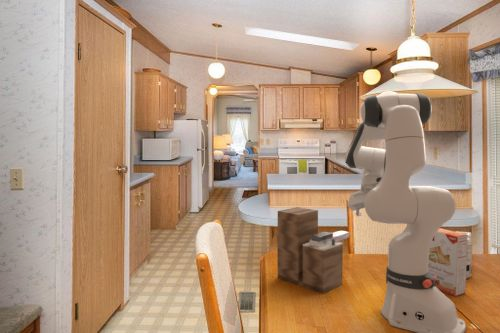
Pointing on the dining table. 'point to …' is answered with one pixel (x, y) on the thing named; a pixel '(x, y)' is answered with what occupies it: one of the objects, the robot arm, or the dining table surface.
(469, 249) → the supplement can
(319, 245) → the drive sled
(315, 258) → the stepped wooden blocks
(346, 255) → the dining table surface
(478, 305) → the dining table surface
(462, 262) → the cracker box
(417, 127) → the robot arm
